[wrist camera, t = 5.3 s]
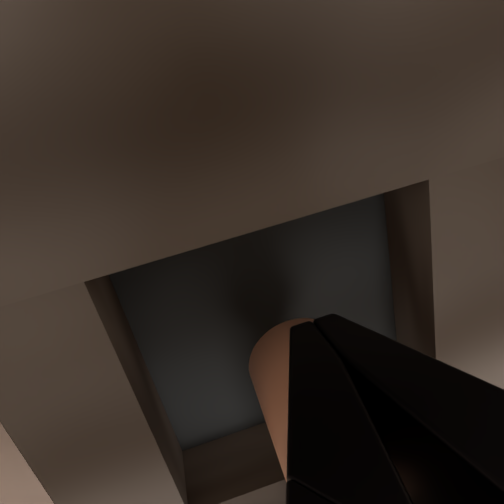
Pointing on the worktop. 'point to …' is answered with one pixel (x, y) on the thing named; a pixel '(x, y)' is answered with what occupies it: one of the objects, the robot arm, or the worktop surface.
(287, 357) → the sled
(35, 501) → the worktop surface
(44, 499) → the worktop surface
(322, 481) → the robot arm
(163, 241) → the deck
